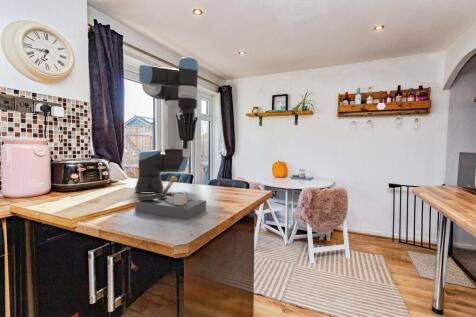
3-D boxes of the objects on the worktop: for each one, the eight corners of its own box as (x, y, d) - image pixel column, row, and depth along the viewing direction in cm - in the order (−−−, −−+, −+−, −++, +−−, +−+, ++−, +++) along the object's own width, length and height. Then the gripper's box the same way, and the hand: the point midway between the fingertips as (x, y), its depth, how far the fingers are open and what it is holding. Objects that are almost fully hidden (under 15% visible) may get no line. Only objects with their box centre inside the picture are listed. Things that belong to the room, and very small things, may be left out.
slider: (180, 202, 94) (180, 191, 94) (186, 203, 93) (186, 192, 93) (174, 204, 90) (174, 193, 90) (180, 205, 89) (180, 194, 89)
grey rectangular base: (158, 203, 107) (158, 190, 107) (205, 210, 99) (206, 195, 99) (135, 211, 94) (135, 196, 94) (187, 219, 86) (187, 203, 86)
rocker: (147, 198, 99) (146, 194, 99) (160, 197, 97) (160, 192, 97) (138, 200, 95) (137, 196, 95) (152, 199, 92) (152, 195, 92)
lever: (161, 194, 102) (175, 174, 99) (165, 198, 101) (179, 178, 99) (157, 195, 100) (171, 175, 97) (161, 199, 99) (175, 179, 96)
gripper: (188, 101, 103) (187, 155, 105) (170, 95, 91) (169, 156, 93) (203, 100, 101) (202, 156, 103) (187, 95, 89) (185, 158, 90)
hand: (186, 156), depth 98 cm, fingers closed
